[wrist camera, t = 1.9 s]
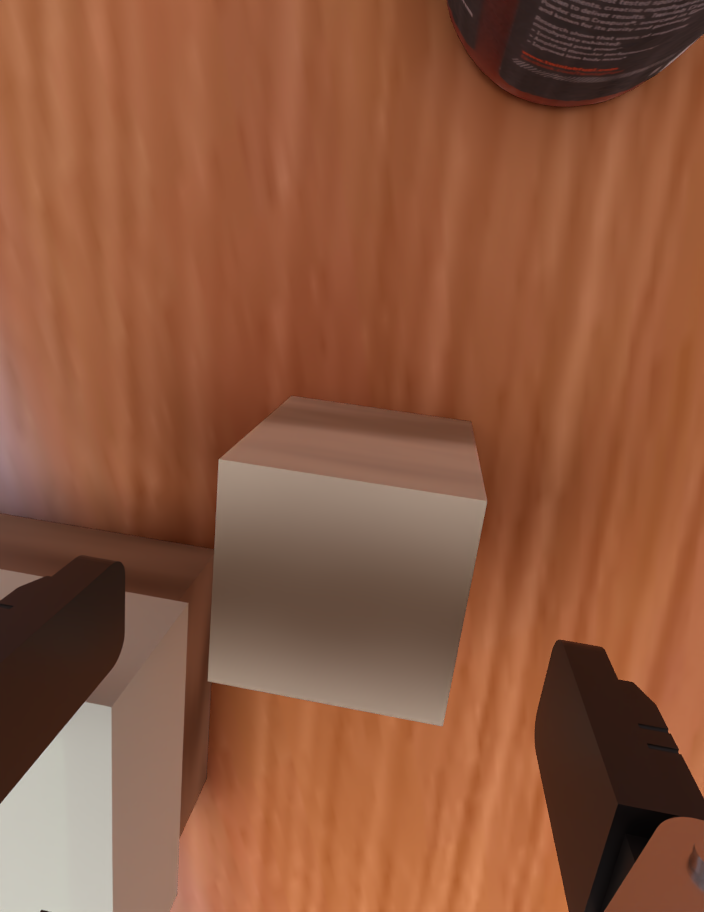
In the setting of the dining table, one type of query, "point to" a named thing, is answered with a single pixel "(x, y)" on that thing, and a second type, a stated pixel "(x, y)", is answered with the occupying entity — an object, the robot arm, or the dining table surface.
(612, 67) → the supplement bottle
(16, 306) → the dining table surface
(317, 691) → the maple cube
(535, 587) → the dining table surface
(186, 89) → the dining table surface
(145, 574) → the walnut block
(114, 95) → the dining table surface
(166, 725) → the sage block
